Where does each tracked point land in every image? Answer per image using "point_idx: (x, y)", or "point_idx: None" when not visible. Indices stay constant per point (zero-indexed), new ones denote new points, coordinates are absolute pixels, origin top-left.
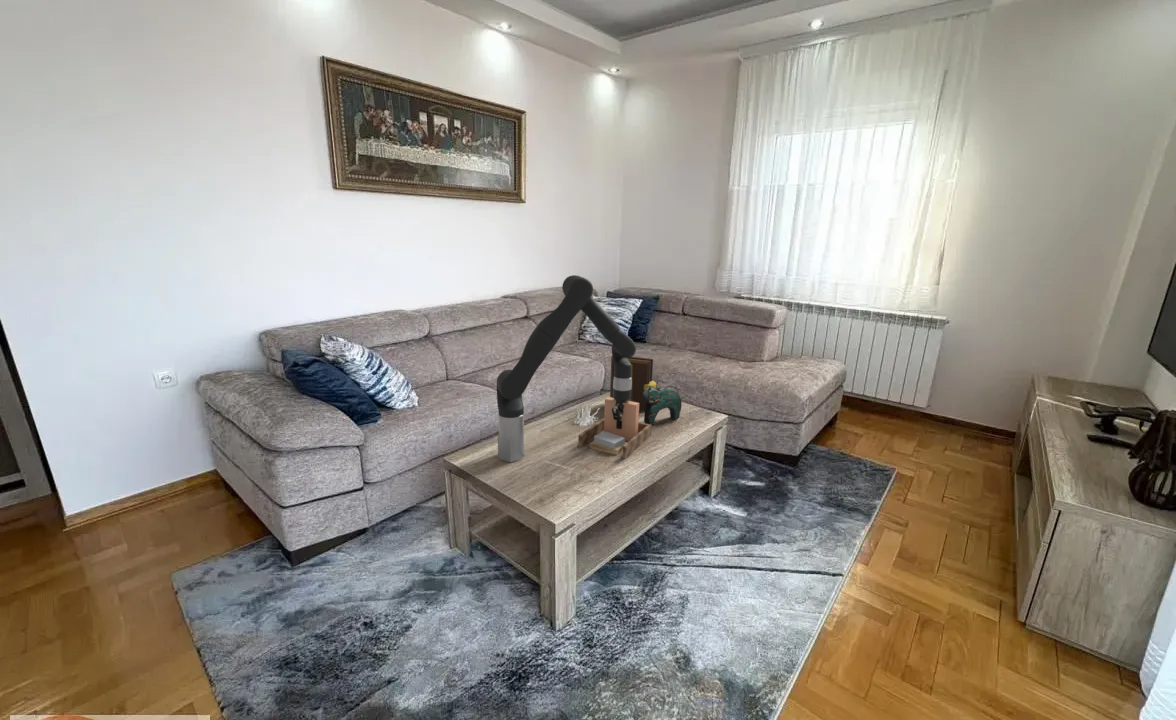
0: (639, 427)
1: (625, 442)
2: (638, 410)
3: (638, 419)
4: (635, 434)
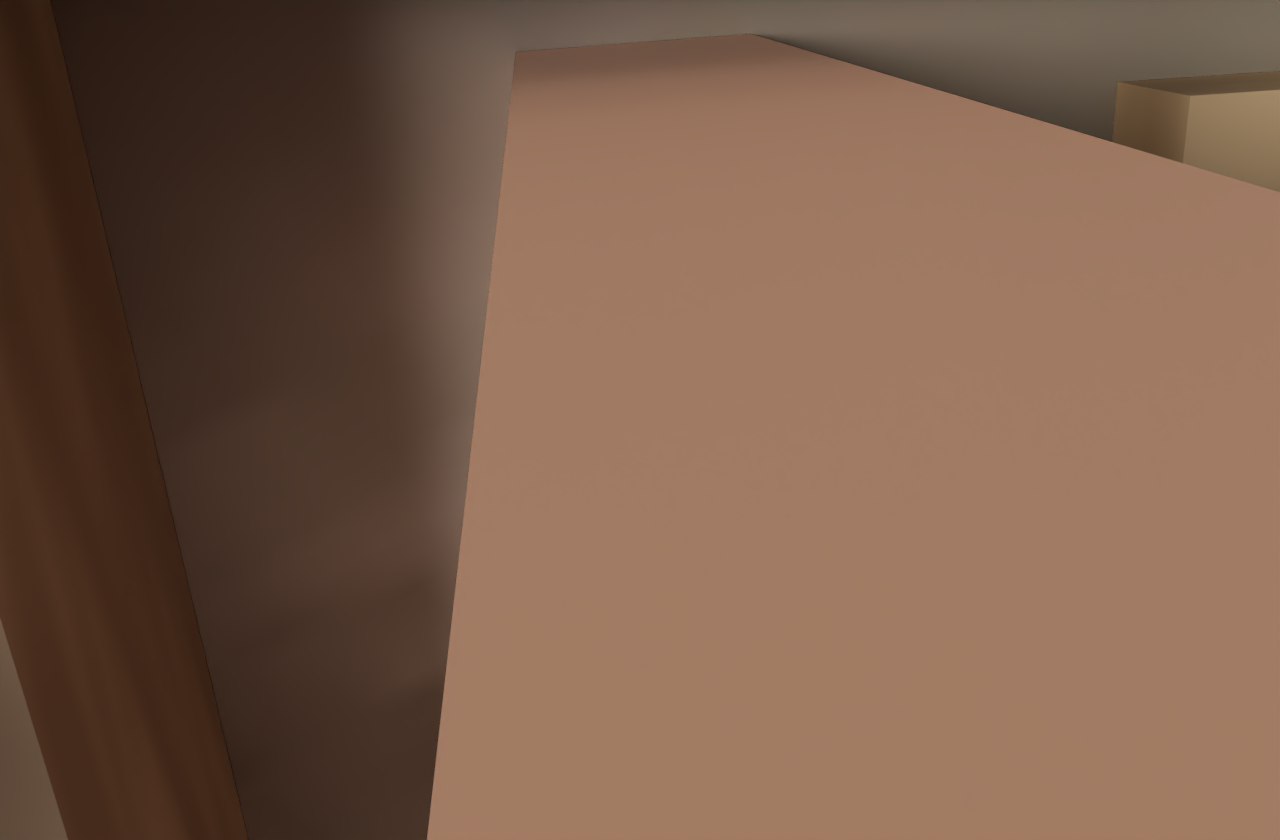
0: (2, 282)
1: (1229, 142)
2: (681, 407)
3: (511, 162)
4: (755, 55)
